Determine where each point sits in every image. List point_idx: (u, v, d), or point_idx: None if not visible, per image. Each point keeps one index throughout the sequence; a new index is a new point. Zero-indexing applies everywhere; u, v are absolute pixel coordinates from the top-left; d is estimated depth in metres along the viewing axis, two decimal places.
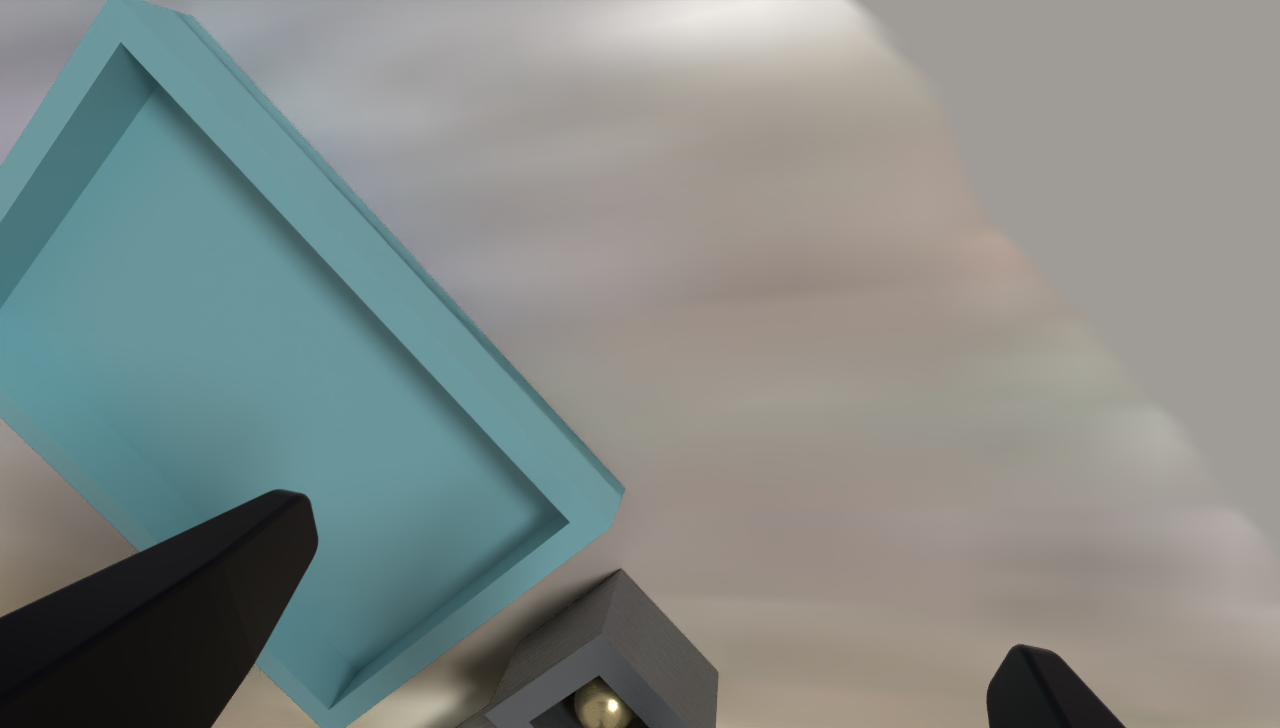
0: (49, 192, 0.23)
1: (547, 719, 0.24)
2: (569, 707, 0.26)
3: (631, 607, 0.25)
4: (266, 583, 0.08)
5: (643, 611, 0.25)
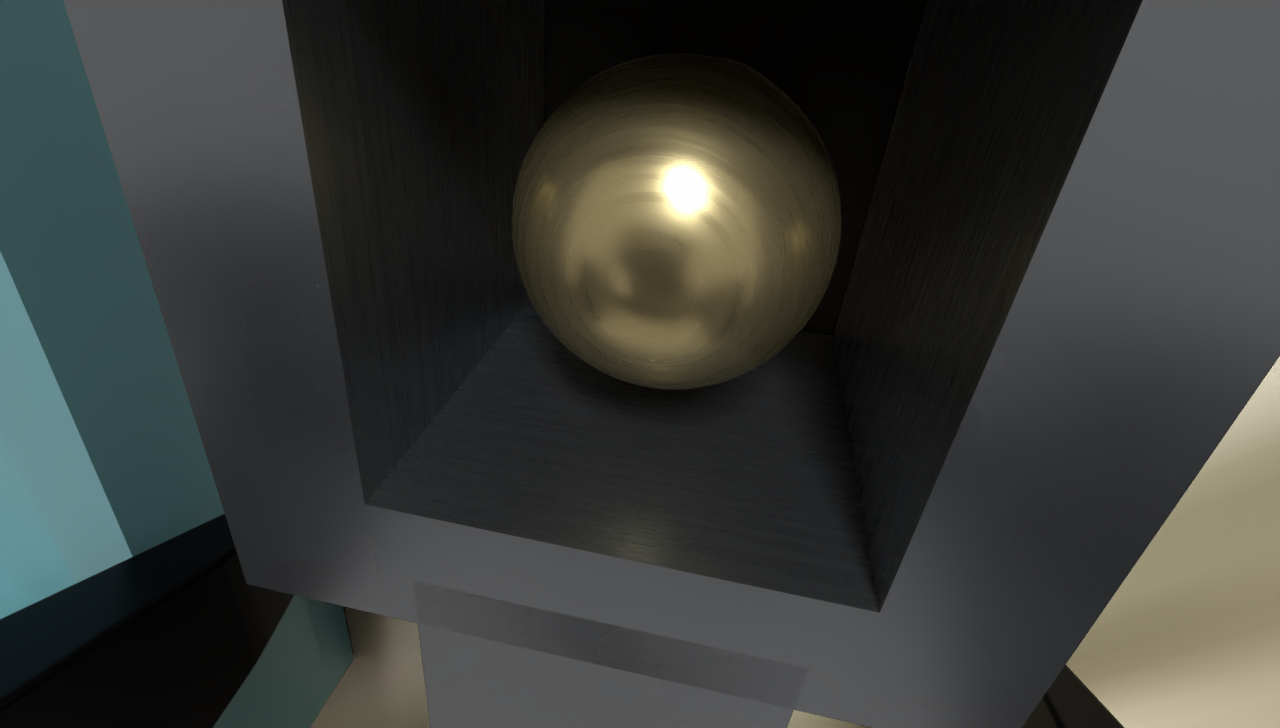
0: None
1: (497, 459, 0.05)
2: (621, 393, 0.06)
3: None
4: None
5: None
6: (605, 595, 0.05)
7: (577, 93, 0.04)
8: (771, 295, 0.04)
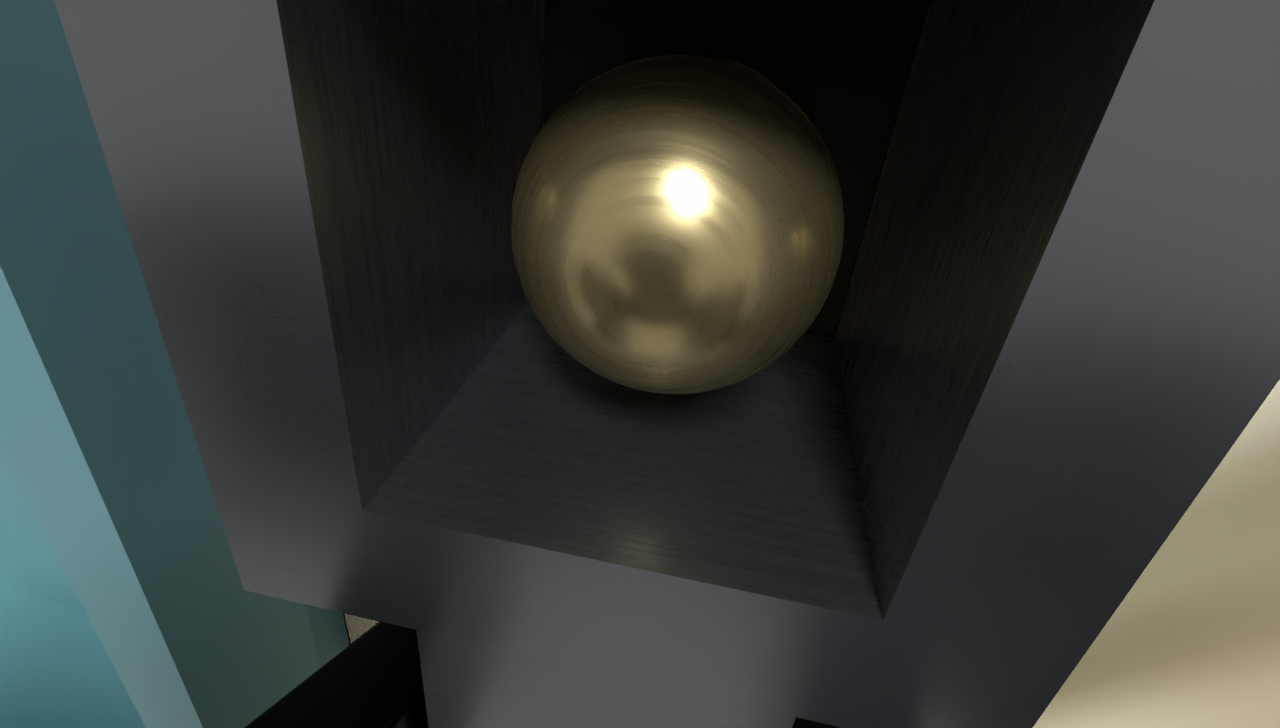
0: None
1: (496, 463, 0.05)
2: (622, 395, 0.06)
3: None
4: None
5: None
6: (606, 603, 0.05)
7: (577, 95, 0.04)
8: (775, 299, 0.04)
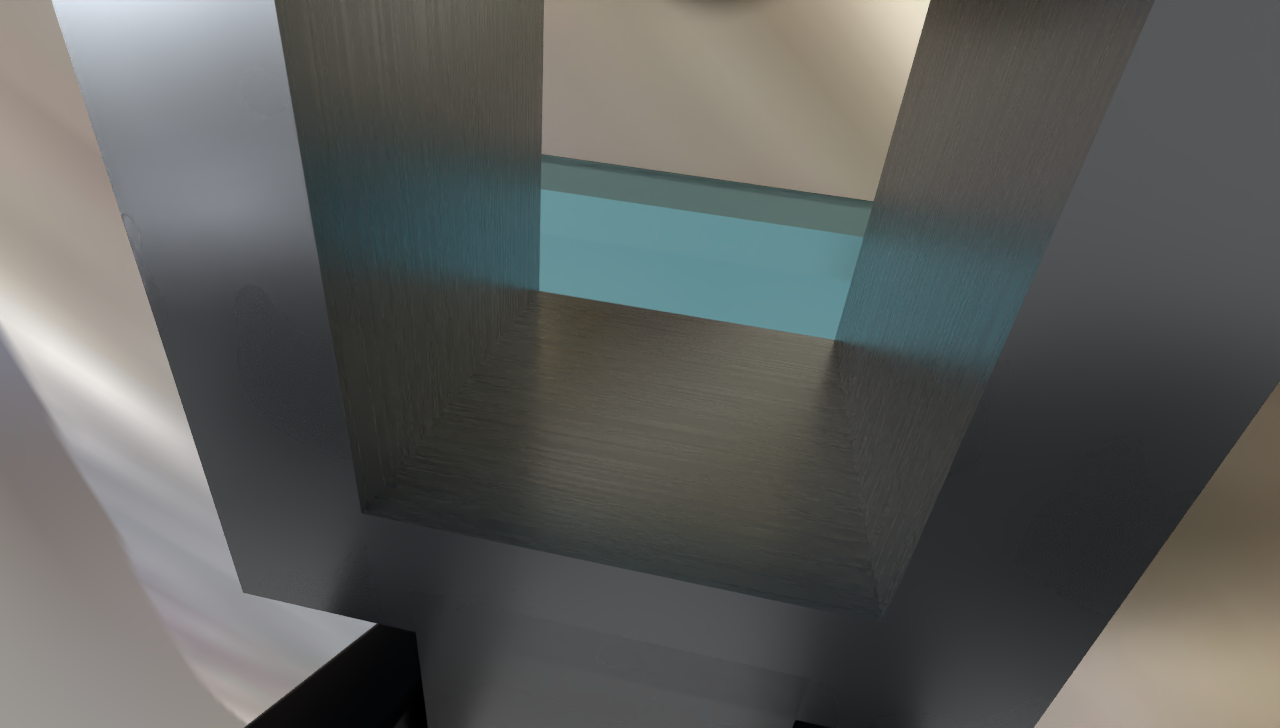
0: None
1: (496, 466, 0.05)
2: (620, 397, 0.06)
3: None
4: None
5: None
6: (604, 606, 0.05)
7: None
8: None
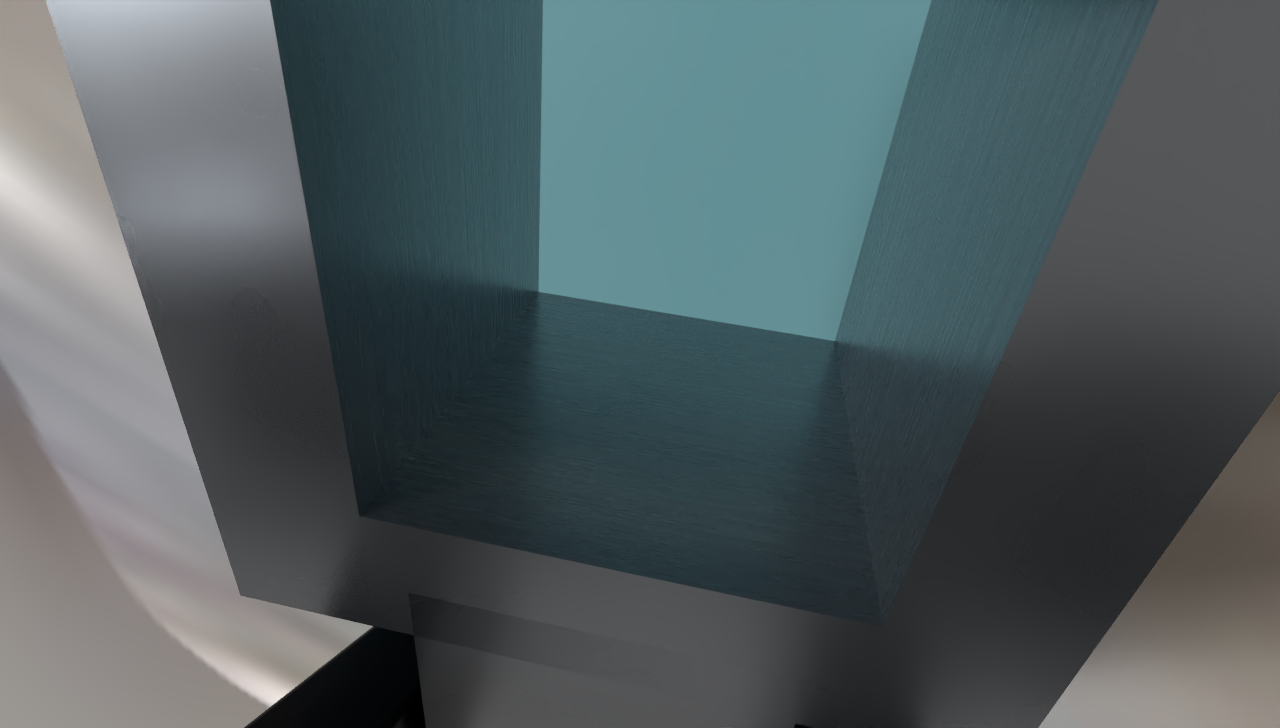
0: None
1: (494, 468, 0.05)
2: (620, 400, 0.06)
3: None
4: None
5: None
6: (604, 608, 0.05)
7: None
8: None
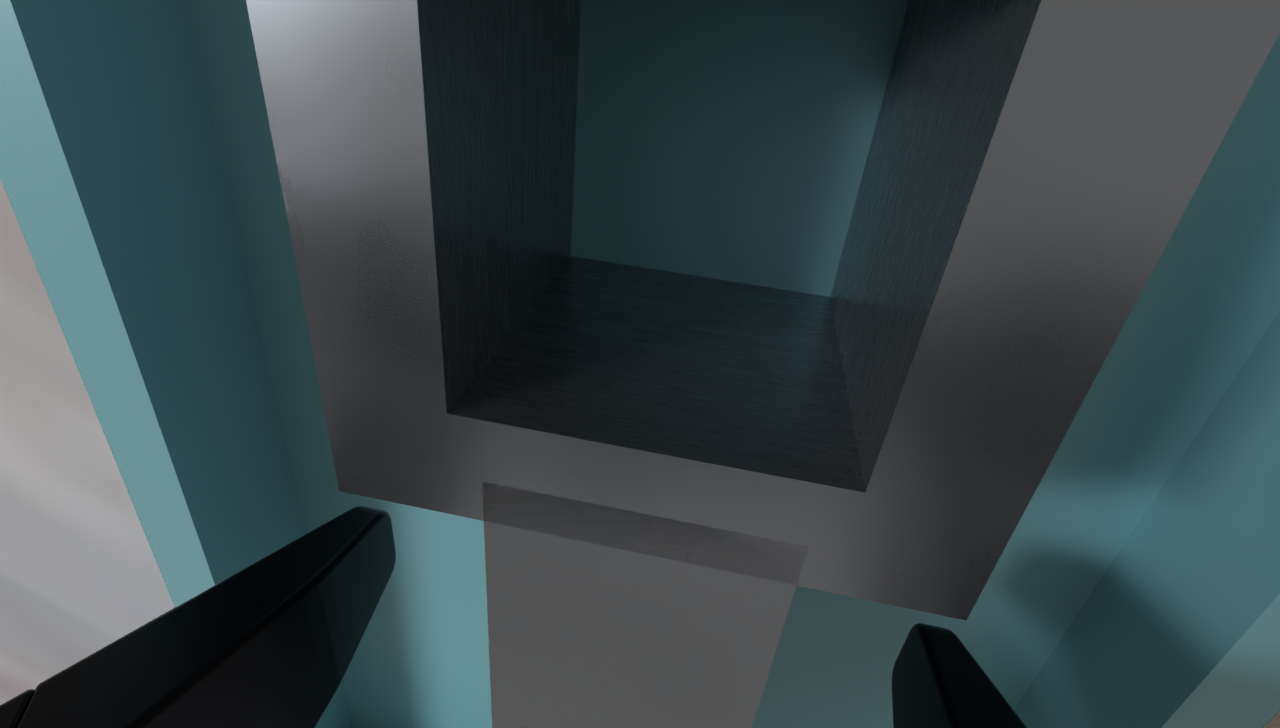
0: None
1: (549, 383, 0.06)
2: (648, 337, 0.07)
3: None
4: (353, 603, 0.08)
5: None
6: (642, 489, 0.06)
7: None
8: None
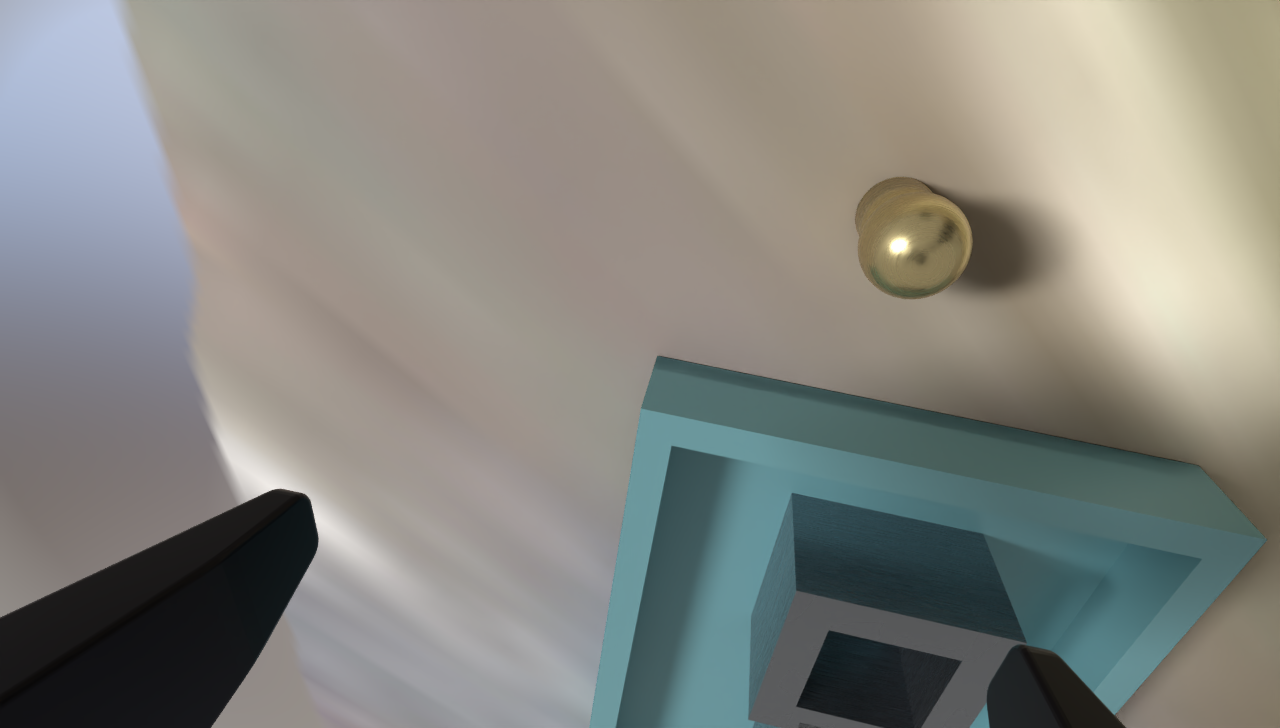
0: None
1: (817, 689, 0.20)
2: (838, 660, 0.21)
3: (825, 530, 0.19)
4: (266, 583, 0.08)
5: (843, 525, 0.20)
6: None
7: (865, 272, 0.15)
8: (934, 227, 0.14)
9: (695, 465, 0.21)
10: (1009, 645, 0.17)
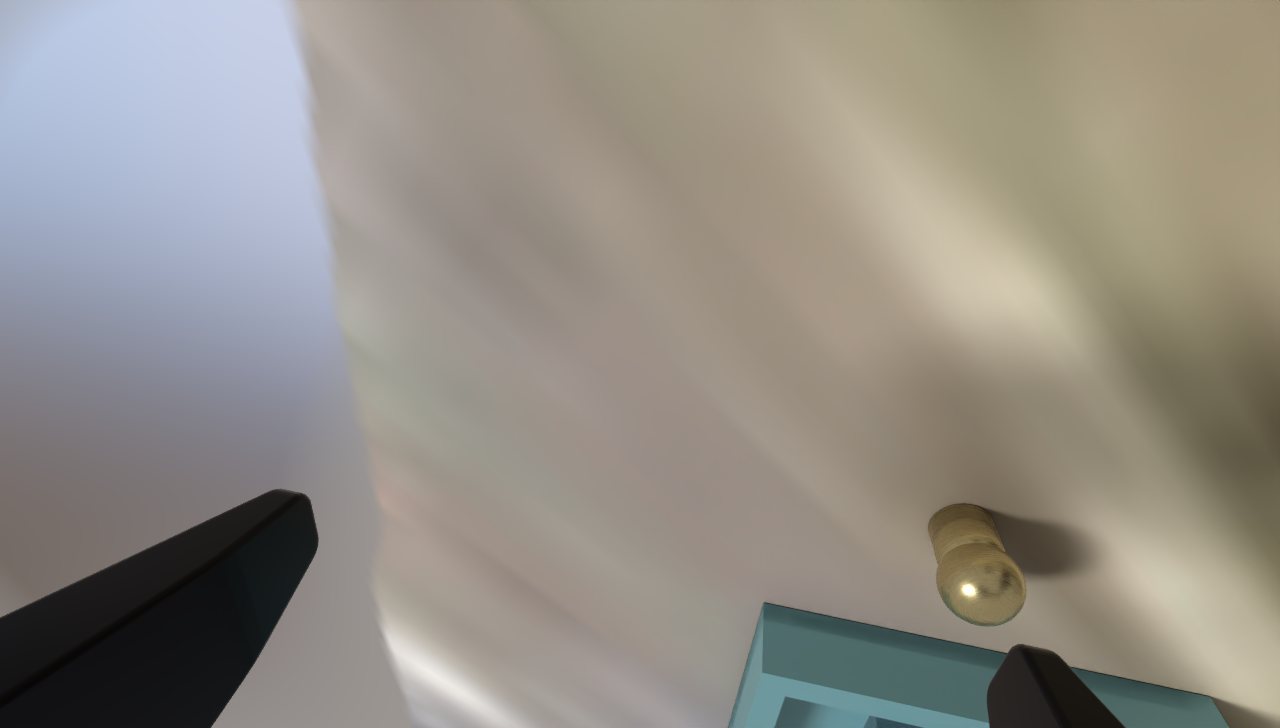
0: None
1: None
2: None
3: None
4: (266, 583, 0.08)
5: None
6: None
7: (943, 601, 0.20)
8: (998, 591, 0.18)
9: None
10: None
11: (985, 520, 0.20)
